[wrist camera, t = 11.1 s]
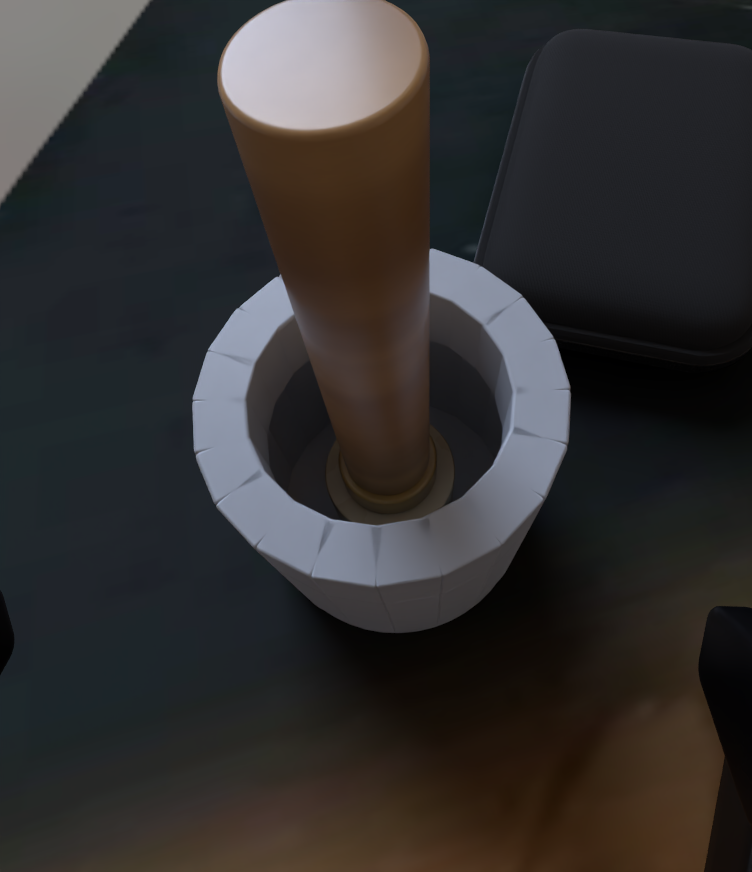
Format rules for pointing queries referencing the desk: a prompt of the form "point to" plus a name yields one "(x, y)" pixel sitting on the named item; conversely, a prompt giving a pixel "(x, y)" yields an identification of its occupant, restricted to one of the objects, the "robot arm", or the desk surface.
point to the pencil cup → (448, 412)
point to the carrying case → (631, 198)
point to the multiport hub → (729, 831)
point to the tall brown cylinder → (349, 230)
